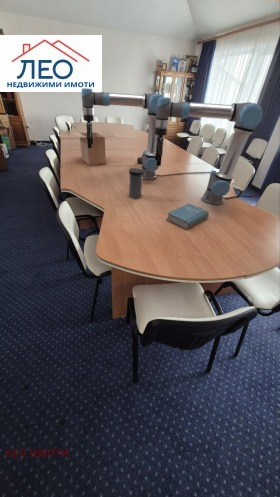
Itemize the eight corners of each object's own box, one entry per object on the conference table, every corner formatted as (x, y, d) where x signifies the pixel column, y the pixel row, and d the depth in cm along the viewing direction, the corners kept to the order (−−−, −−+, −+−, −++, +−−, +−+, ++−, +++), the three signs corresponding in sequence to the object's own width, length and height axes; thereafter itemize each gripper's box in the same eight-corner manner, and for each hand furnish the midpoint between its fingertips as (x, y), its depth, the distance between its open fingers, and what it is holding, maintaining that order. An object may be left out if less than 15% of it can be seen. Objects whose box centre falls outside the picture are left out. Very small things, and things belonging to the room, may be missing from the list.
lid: (129, 175, 155) (129, 172, 154) (128, 170, 163) (128, 167, 162) (143, 175, 156) (143, 172, 155) (142, 171, 164) (142, 168, 163)
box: (116, 165, 229) (116, 136, 213) (83, 168, 214) (80, 137, 198) (102, 154, 259) (101, 128, 243) (71, 156, 244) (68, 129, 228)
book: (187, 209, 155) (188, 203, 152) (207, 218, 146) (209, 211, 143) (166, 219, 142) (167, 212, 139) (187, 230, 133) (188, 222, 130)
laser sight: (156, 166, 235) (157, 156, 229) (136, 164, 237) (136, 154, 231) (157, 164, 242) (158, 154, 236) (138, 161, 245) (138, 152, 239)
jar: (129, 198, 166) (130, 172, 154) (128, 193, 173) (129, 168, 162) (141, 198, 166) (143, 173, 155) (140, 193, 174) (142, 169, 163)
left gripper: (84, 112, 170) (87, 142, 182) (81, 116, 150) (84, 149, 163) (94, 112, 171) (96, 142, 183) (92, 116, 151) (94, 149, 163)
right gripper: (154, 124, 147) (151, 157, 159) (156, 130, 127) (153, 168, 139) (165, 124, 147) (161, 158, 160) (169, 131, 127) (165, 168, 140)
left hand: (90, 146), depth 173 cm, fingers open, 13 cm apart
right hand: (157, 162), depth 149 cm, fingers open, 13 cm apart
